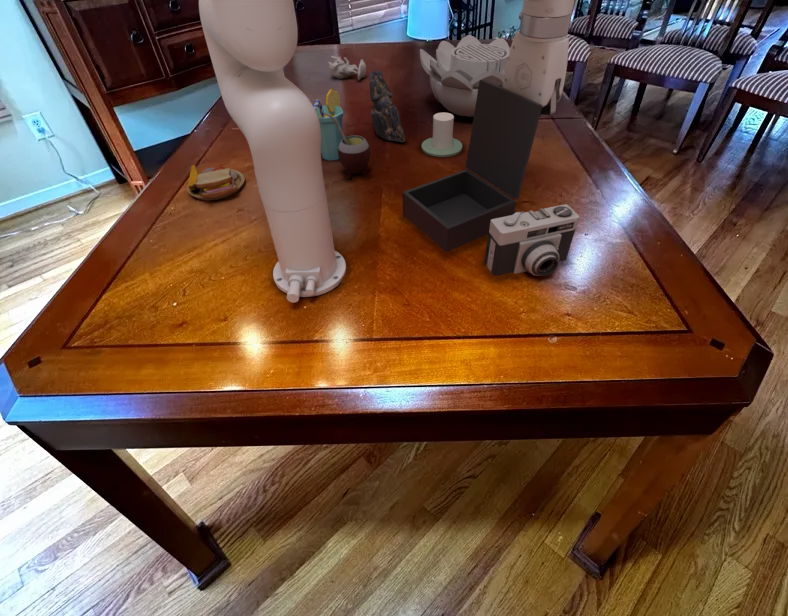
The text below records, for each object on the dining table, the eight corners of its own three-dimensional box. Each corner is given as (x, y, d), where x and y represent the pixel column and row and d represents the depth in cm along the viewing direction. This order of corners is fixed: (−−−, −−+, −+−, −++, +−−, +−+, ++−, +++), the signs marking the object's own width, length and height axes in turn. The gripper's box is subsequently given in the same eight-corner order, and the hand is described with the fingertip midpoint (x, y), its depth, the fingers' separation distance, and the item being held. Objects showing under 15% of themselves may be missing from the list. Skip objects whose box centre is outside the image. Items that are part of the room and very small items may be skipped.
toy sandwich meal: (247, 170, 105) (241, 151, 102) (244, 201, 96) (238, 181, 92) (192, 177, 104) (184, 157, 100) (183, 208, 94) (175, 188, 91)
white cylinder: (452, 149, 108) (454, 120, 103) (433, 149, 108) (434, 121, 103) (450, 140, 112) (452, 111, 107) (431, 141, 112) (432, 112, 107)
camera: (503, 294, 73) (512, 245, 66) (482, 263, 79) (489, 215, 72) (578, 276, 76) (596, 227, 69) (553, 248, 81) (566, 200, 74)
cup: (339, 172, 103) (330, 105, 93) (307, 170, 104) (295, 104, 94) (354, 145, 113) (348, 81, 102) (324, 143, 114) (315, 80, 103)
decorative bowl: (554, 121, 119) (568, 59, 109) (454, 142, 112) (459, 78, 102) (495, 84, 139) (502, 29, 129) (407, 100, 132) (407, 43, 122)
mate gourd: (377, 170, 103) (373, 104, 93) (358, 186, 99) (351, 118, 88) (350, 163, 106) (343, 98, 95) (330, 178, 101) (321, 111, 91)
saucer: (464, 156, 107) (464, 154, 106) (422, 157, 107) (422, 155, 107) (459, 137, 114) (459, 135, 114) (420, 139, 114) (420, 137, 114)
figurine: (365, 68, 140) (327, 61, 140) (363, 88, 145) (326, 81, 144) (368, 56, 147) (332, 49, 146) (366, 76, 151) (331, 70, 150)
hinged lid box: (446, 255, 81) (447, 228, 77) (402, 217, 90) (402, 191, 86) (511, 227, 86) (516, 200, 82) (464, 194, 95) (466, 168, 91)
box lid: (539, 105, 71) (542, 104, 71) (479, 79, 79) (483, 79, 80) (515, 199, 82) (518, 198, 82) (465, 167, 91) (468, 166, 91)
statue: (395, 148, 111) (393, 84, 100) (366, 132, 118) (361, 71, 107) (412, 141, 113) (412, 77, 103) (383, 126, 120) (380, 65, 109)
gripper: (494, 20, 74) (482, 129, 87) (562, 40, 65) (538, 159, 78) (528, 12, 77) (512, 119, 90) (598, 31, 68) (569, 147, 81)
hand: (524, 137), depth 84 cm, fingers closed
